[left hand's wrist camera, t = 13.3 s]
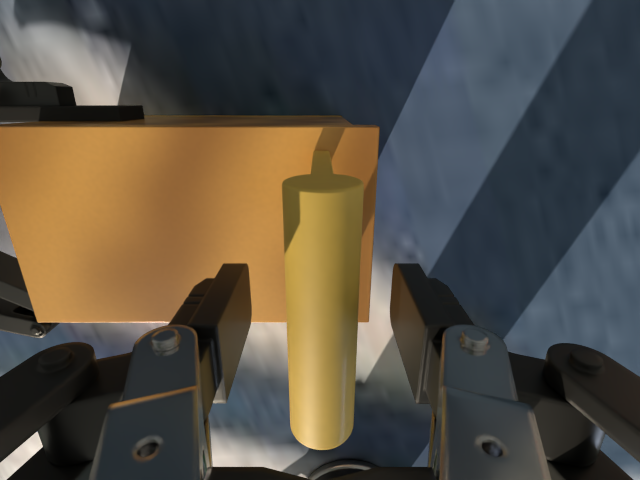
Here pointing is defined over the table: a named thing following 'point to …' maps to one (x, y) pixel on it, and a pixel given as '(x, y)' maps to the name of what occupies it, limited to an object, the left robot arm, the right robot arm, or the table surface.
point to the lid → (205, 234)
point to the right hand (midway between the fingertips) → (147, 205)
